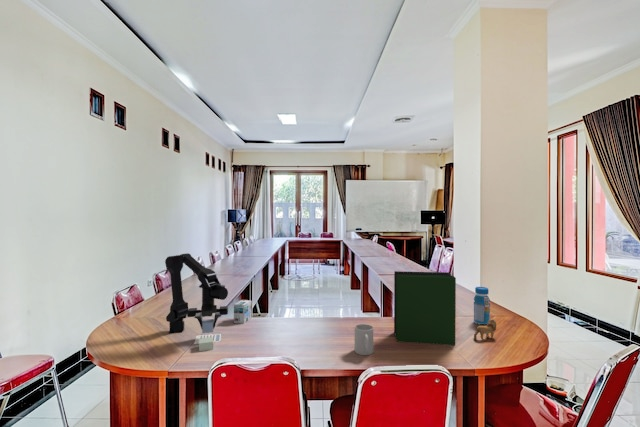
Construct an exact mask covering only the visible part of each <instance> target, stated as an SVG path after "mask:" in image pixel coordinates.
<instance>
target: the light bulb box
mask: <svg viewBox="0 0 640 427" xmlns="http://www.w3.org/2000/svg"><path fill="white" fill-rule="evenodd" d="M252 302H253V301H252V300H250V299H249V300H248V299H241V300H238V301H237V302H236V303H234V304H233V324H243V325H244V324H246V323H247V322H249V321H250V320H252V313H253V311H252V307H253V306H252Z"/></svg>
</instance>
